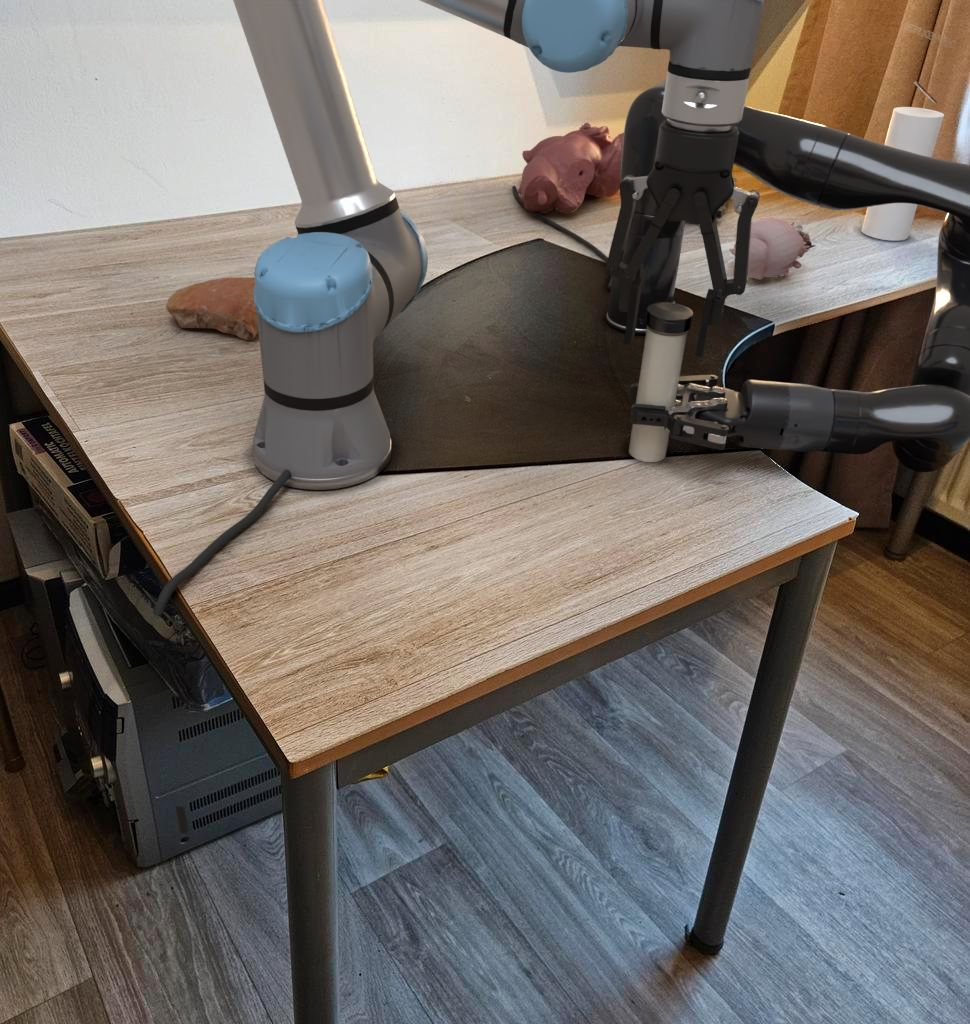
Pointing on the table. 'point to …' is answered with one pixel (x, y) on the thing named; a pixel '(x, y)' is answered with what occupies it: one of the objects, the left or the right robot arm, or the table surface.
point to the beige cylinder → (657, 391)
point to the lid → (669, 317)
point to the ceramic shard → (217, 306)
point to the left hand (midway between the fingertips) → (664, 345)
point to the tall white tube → (913, 135)
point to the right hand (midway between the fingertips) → (630, 403)
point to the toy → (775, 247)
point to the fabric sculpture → (571, 169)
